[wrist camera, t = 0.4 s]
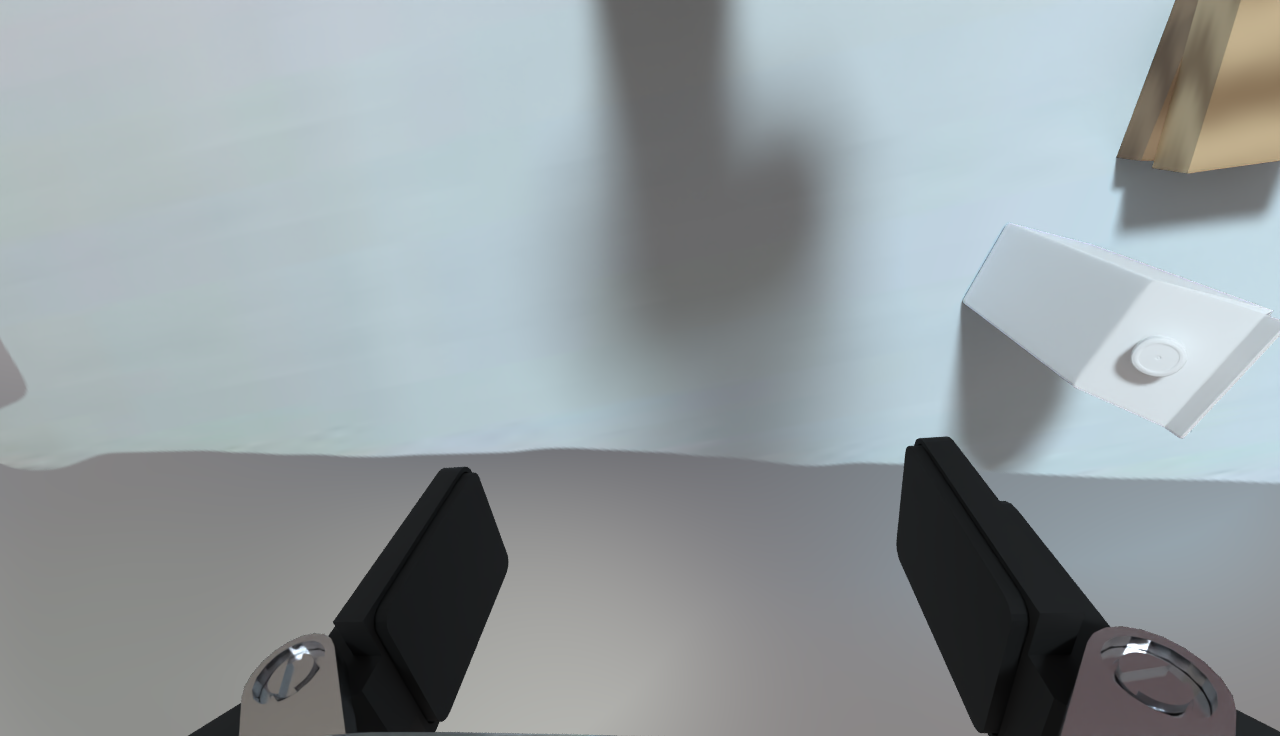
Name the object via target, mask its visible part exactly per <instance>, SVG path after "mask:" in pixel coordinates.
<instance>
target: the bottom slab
mask: <svg viewBox="0 0 1280 736" xmlns="http://www.w3.org/2000/svg"><path fill="white" fill-rule="evenodd" d="M1197 3H1198V0H1175V3H1174V5H1173V8H1172V11H1171V13H1170V16H1169V19H1168V21H1167V24H1166V27H1165V29H1164V32H1163V35H1162V37H1161V40H1160V43H1159V45H1158V48H1157V51H1156V53H1155V56H1154V59H1153V61H1152V64H1151V67H1150V69H1149V72H1148V75H1147V77H1146V80H1145V83H1144V85H1143V88H1142V91H1141V93H1140V96H1139V99H1138V101H1137V104H1136V107H1135V109H1134V112H1133V115H1132V117H1131V120H1130V123H1129V125H1128V128H1127V131H1126V133H1125V136H1124V139H1123V141H1122V144H1121V146H1120V149H1119V152H1118V154H1117V158H1124V159H1131V160H1138V161H1154V159H1155V155H1156V152H1157V148H1158V145H1159V141H1160V137H1161V134H1162V130H1163V126H1164V123H1165V119H1166V116H1167V112H1168V108H1169V105H1170V101H1171V98H1172V94H1173V90H1174V87H1175V83H1176V79H1177V76H1178V72H1179V69H1180V65H1181V61H1182V58H1183V54H1184V50H1185V47H1186V43H1187V40H1188V36H1189V32H1190V29H1191V25H1192V21H1193V18H1194V14H1195V11H1196V7H1197Z"/></svg>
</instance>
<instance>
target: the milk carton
mask: <svg viewBox="0 0 1280 736" xmlns="http://www.w3.org/2000/svg"><path fill="white" fill-rule="evenodd" d="M963 303H964V304H966V305H967V306H968V307H970V308H971V309H972V310H973V311H975V312H976V313H977V314H979V315H980V316H981V317H983V318H984V319H985V320H987V321H988V322H989V323H991V324H992V325H993V326H995V327H996V328H997V329H998V330H1000V331H1001V332H1002V333H1004V334H1005V335H1006V336H1008V337H1009V338H1010V339H1012V340H1013V341H1014V342H1016V343H1017V344H1018V345H1019V346H1021V347H1022V348H1023V349H1025V350H1026V351H1027V352H1029V353H1030V354H1031V355H1033V356H1034V357H1035V358H1037V359H1038V360H1039V361H1040V362H1042V363H1043V364H1044V365H1046V366H1047V367H1048V368H1050V369H1051V370H1052V371H1054V372H1055V373H1056V374H1058V375H1059V376H1060V377H1062V378H1063V379H1064V380H1066V381H1067V382H1068V383H1070V384H1071V385H1072V386H1074V387H1075V388H1077V389H1079V390H1081V391H1083V392H1086V393H1088V394H1090V395H1092V396H1095V397H1097V398H1099V399H1101V400H1104V401H1106V402H1108V403H1110V404H1113V405H1115V406H1117V407H1119V408H1122V409H1124V410H1126V411H1128V412H1131V413H1133V414H1135V415H1138V416H1140V417H1142V418H1144V419H1147V420H1149V421H1151V422H1153V423H1156V424H1158V425H1160V426H1162V427H1165V428H1166V429H1167V430H1169V431H1170V432H1172V433H1173V434H1175V435H1176V436H1177V437H1179V438H1185V437H1186V436H1187V435H1188V433H1189V432H1190V431H1191V430H1192V429H1193V428H1194V427H1195V426H1196V425H1197V424H1198V423H1199V422H1200V421H1201V420H1202V418H1203V417H1204V416H1205V415H1206V414H1207V413H1208V412H1209V411H1210V410H1211V409H1212V408H1213V407H1214V406H1215V405H1216V404H1217V402H1218V401H1219V400H1220V399H1221V398H1222V397H1223V396H1224V395H1225V394H1226V393H1227V392H1228V391H1229V390H1230V389H1231V387H1232V386H1233V385H1234V384H1235V383H1236V382H1237V381H1238V380H1239V379H1240V378H1241V377H1242V376H1243V375H1244V374H1245V373H1246V371H1247V370H1248V369H1249V368H1250V367H1251V366H1252V365H1253V364H1254V363H1255V362H1256V361H1257V360H1258V359H1259V358H1260V356H1261V355H1262V354H1263V353H1264V352H1265V351H1266V350H1267V349H1268V348H1269V347H1270V346H1271V345H1272V344H1273V343H1274V342H1275V340H1276V339H1277V338H1278V337H1279V336H1280V319H1277V318H1274V317H1272V316H1270V315H1271V313H1272V312H1273V311H1274V310H1271V309H1268V308H1265V307H1262V306H1260V305H1257V304H1254V303H1251V302H1249V301H1246V300H1243V299H1241V298H1238V297H1235V296H1232V295H1230V294H1227V293H1224V292H1221V291H1219V290H1216V289H1213V288H1210V287H1208V286H1205V285H1202V284H1200V283H1197V282H1194V281H1191V280H1189V279H1186V278H1183V277H1180V276H1178V275H1175V274H1172V273H1170V272H1167V271H1164V270H1161V269H1159V268H1156V267H1153V266H1150V265H1148V264H1145V263H1142V262H1140V261H1137V260H1134V259H1131V258H1129V257H1126V256H1123V255H1120V254H1118V253H1115V252H1112V251H1109V250H1107V249H1104V248H1101V247H1099V246H1096V245H1093V244H1090V243H1086V242H1082V241H1078V240H1074V239H1071V238H1067V237H1063V236H1059V235H1055V234H1051V233H1048V232H1044V231H1040V230H1036V229H1032V228H1029V227H1025V226H1021V225H1017V224H1013V223H1008V224H1007V225H1006V226H1005V228H1004V230H1003V231H1002V233H1001V235H1000V237H999V238H998V240H997V242H996V243H995V245H994V247H993V249H992V250H991V252H990V254H989V256H988V257H987V259H986V261H985V263H984V264H983V266H982V268H981V269H980V271H979V273H978V275H977V276H976V278H975V280H974V282H973V283H972V285H971V287H970V289H969V290H968V292H967V294H966V296H965V297H964V299H963Z"/></svg>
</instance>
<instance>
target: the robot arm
mask: <svg viewBox="0 0 1280 736" xmlns="http://www.w3.org/2000/svg"><path fill="white" fill-rule="evenodd" d="M897 552H898V557H899V560H900V562H901V565H902V567H903V569H904V571H905V574H906V575H907V578H908V580H909V582H910V584H911V587H912V589H913V591H914V594H915V596H916V598H917V600H918V603H919V605H920V607H921V609H922V611H923V614H924V616H925V618H926V620H927V623H928V625H929V627H930V629H931V632H932V634H933V636H934V638H935V640H936V643H937V645H938V647H939V650H940V652H941V654H942V656H943V658H944V660H945V663H946V665H947V667H948V670H949V672H950V674H951V676H952V678H953V681H954V683H955V685H956V688H957V690H958V692H959V694H960V696H961V698H962V701H963V703H964V705H965V708H966V710H967V712H968V714H969V717H970V719H971V721H972V723H973V725H974V727H975V728H976V730H977V731H978V732H980V733H988V735H989V736H1280V732H1279V731H1277V730H1275V729H1273V728H1271V727H1269V726H1267V725H1266V724H1264V723H1261V722H1259V721H1257V720H1256V719H1254V718H1252V717H1250V716H1248V715H1246V714H1244V713H1242V712H1240V711H1238V710H1236V707H1235V703H1234V699H1233V695H1232V694H1231V692H1230V691H1229V689H1228V688H1227V686H1226V684H1225V683H1224V681H1223V680H1222V679H1221V677H1219V676H1218V675H1217V674H1216V673H1215V672H1214V671H1213V670H1212V669H1211V668H1210V667H1209V666H1208V665H1207V664H1206V663H1205V662H1204V661H1202V660H1201V659H1200V658H1198V657H1197V656H1195V655H1194V654H1193V653H1191V652H1190V651H1188V650H1187V649H1186V648H1184V647H1182V646H1180V645H1178V644H1176V643H1174V642H1172V641H1170V640H1168V639H1166V638H1164V637H1162V636H1159V635H1156V634H1153V633H1150V632H1147V631H1144V630H1142V629H1136V628H1129V627H1123V626H1119V627H1110V626H1109V625H1108V623H1107V622H1106V621H1105V620H1104V618H1103V617H1102V616H1101V615H1100V613H1099V612H1098V611H1097V610H1096V608H1095V607H1094V606H1093V604H1092V603H1091V602H1090V601H1089V599H1088V598H1087V597H1086V596H1085V594H1084V593H1083V592H1082V591H1081V590H1080V588H1079V587H1078V586H1077V584H1076V583H1075V582H1074V581H1073V579H1072V578H1071V577H1070V576H1069V574H1068V573H1067V572H1066V571H1065V569H1064V568H1063V567H1062V565H1061V564H1060V563H1059V562H1058V560H1057V559H1056V558H1055V557H1054V555H1053V554H1052V553H1051V552H1050V550H1049V549H1048V548H1047V547H1046V545H1045V544H1044V543H1043V542H1042V540H1041V539H1040V538H1039V536H1038V535H1037V534H1036V533H1035V532H1034V530H1033V529H1032V528H1031V527H1030V525H1029V524H1028V523H1027V521H1026V520H1025V519H1024V518H1023V516H1022V515H1021V514H1020V513H1019V511H1018V510H1017V509H1016V508H1015V507H1014V506H1013V505H1012V504H1011V503H1008V502H1006V501H999V500H998V498H997V497H996V496H995V495H994V493H993V492H992V490H991V489H990V488H989V487H988V485H987V484H986V483H985V482H984V480H983V479H982V477H981V476H980V475H979V474H978V472H977V471H976V470H975V468H974V467H973V466H972V464H971V463H970V462H969V460H968V459H967V458H966V457H965V455H964V454H963V453H962V451H961V450H960V449H959V447H958V446H957V445H956V444H955V442H954V441H953V440H952V439H951V438H950V437H932V438H919V439H917V440H916V442H915V445H914V446H908V447H907V448H906V452H905V462H904V472H903V482H902V492H901V502H900V512H899V522H898V532H897ZM507 569H508V555H507V552H506V549H505V547H504V544H503V541H502V539H501V536H500V533H499V531H498V528H497V525H496V522H495V519H494V517H493V514H492V511H491V508H490V506H489V503H488V500H487V497H486V495H485V492H484V489H483V487H482V484H481V481H480V478H479V476H478V474H476V473H472V472H471V470H470V469H469V468H468V467H454V468H443V469H441V470H440V471H439V472H438V474H437V475H436V476H435V478H434V479H433V481H432V482H431V484H430V485H429V486H428V488H427V489H426V491H425V492H424V493H423V495H422V496H421V498H420V499H419V500H418V502H417V503H416V505H415V506H414V508H413V509H412V511H411V512H410V514H409V515H408V516H407V518H406V519H405V520H404V522H403V523H402V525H401V526H400V527H399V529H398V530H397V532H396V533H395V535H394V536H393V537H392V539H391V540H390V542H389V543H388V545H387V546H386V548H385V549H384V550H383V552H382V553H381V554H380V556H379V557H378V559H377V560H376V562H375V563H374V564H373V566H372V567H371V569H370V570H369V572H368V573H367V574H366V576H365V577H364V579H363V580H362V581H361V583H360V584H359V586H358V587H357V589H356V590H355V591H354V593H353V594H352V596H351V597H350V599H349V600H348V602H347V603H346V604H345V606H344V607H343V608H342V610H341V611H340V613H339V614H338V616H337V617H336V618H335V620H334V621H333V623H334V625H335V627H334V629H333V630H332V632H331V633H330V634H329V636H327V635H325V634H317V633H313V634H308V635H303V636H300V637H298V638H296V639H293V640H291V641H289V642H287V643H286V644H284V645H283V646H281V647H279V648H278V649H276V650H275V651H274V652H272V654H270V655H269V656H268V657H267V658H265V659H264V660H263V661H262V662H261V664H260V665H259V666H258V667H257V668H256V669H255V671H254V672H253V673H252V674H251V676H250V678H249V679H248V681H247V683H246V684H245V686H244V690H243V694H242V698H241V703H240V704H239V705H237V706H235V707H234V708H232V709H230V710H229V711H227V712H226V713H224V714H222V715H221V716H219V717H218V718H216V719H214V720H213V721H211V722H210V723H208V724H206V725H205V726H203V727H202V728H200V729H198V730H197V731H195V732H193V733H192V734H190V735H189V736H613V735H571V734H570V735H569V734H519V733H517V734H516V733H515V734H514V733H463V732H462V733H460V732H435V731H436V729H437V727H438V724H439V722H442V721H444V720H445V719H446V718H447V717H448V714H449V712H450V710H451V708H452V706H453V703H454V700H455V698H456V695H457V693H458V691H459V688H460V686H461V683H462V681H463V678H464V676H465V674H466V671H467V669H468V666H469V664H470V661H471V658H472V656H473V654H474V651H475V649H476V647H477V644H478V641H479V638H480V636H481V634H482V632H483V629H484V627H485V624H486V622H487V619H488V617H489V615H490V612H491V609H492V607H493V605H494V602H495V600H496V597H497V595H498V592H499V590H500V587H501V585H502V583H503V580H504V578H505V575H506V573H507ZM614 736H615V735H614Z"/></svg>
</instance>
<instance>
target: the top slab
mask: <svg viewBox="0 0 1280 736" xmlns="http://www.w3.org/2000/svg"><path fill="white" fill-rule="evenodd" d="M1274 161H1280V0H1198V3H1197V7H1196V11H1195V14H1194V18H1193V21H1192V25H1191V29H1190V32H1189V36H1188V40H1187V43H1186V47H1185V50H1184V54H1183V58H1182V61H1181V65H1180V69H1179V72H1178V76H1177V79H1176V83H1175V87H1174V90H1173V94H1172V98H1171V101H1170V105H1169V108H1168V112H1167V116H1166V119H1165V123H1164V126H1163V130H1162V134H1161V137H1160V141H1159V145H1158V148H1157V152H1156V155H1155V159H1154V163H1153V166H1152V168H1155V169H1162V170H1168V171H1175V172H1181V173H1195V172H1202V171H1209V170H1216V169H1223V168H1231V167H1238V166H1245V165H1252V164H1259V163H1266V162H1274Z"/></svg>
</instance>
